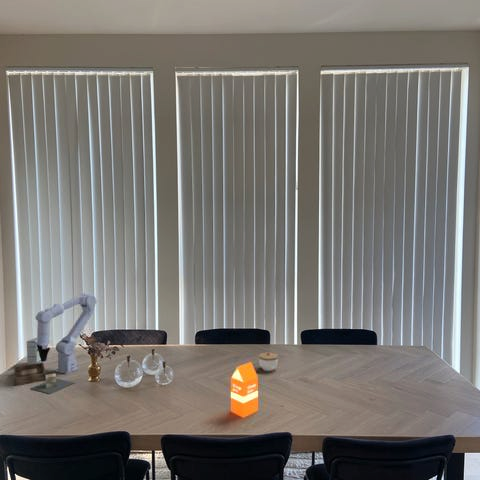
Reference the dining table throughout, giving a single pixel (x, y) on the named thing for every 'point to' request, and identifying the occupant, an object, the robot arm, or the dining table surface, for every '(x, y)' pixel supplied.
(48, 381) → the birch block
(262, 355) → the lidded jar
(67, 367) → the robot arm
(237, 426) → the dining table surface
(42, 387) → the rubber mat
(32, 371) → the walnut crate
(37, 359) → the syrup box
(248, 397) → the orange juice
